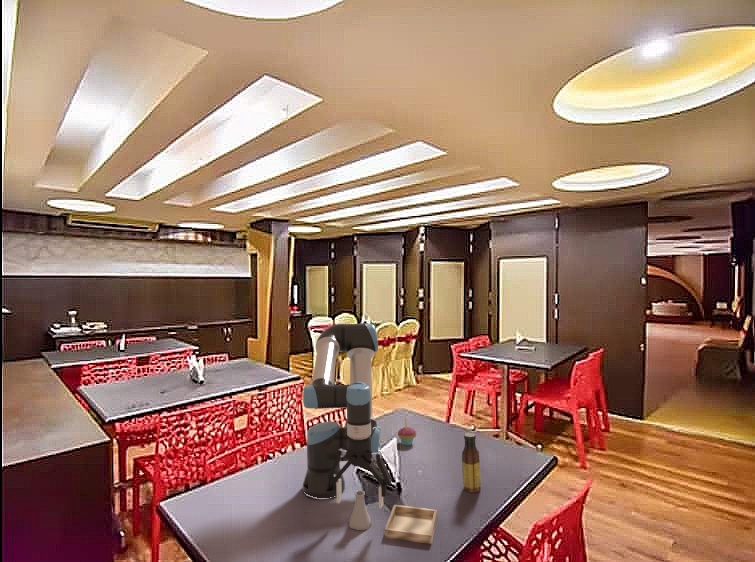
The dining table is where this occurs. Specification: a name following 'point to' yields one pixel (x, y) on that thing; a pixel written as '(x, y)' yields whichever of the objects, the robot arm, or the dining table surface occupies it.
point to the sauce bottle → (471, 464)
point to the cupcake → (406, 434)
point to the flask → (360, 513)
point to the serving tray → (411, 524)
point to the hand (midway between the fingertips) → (359, 503)
